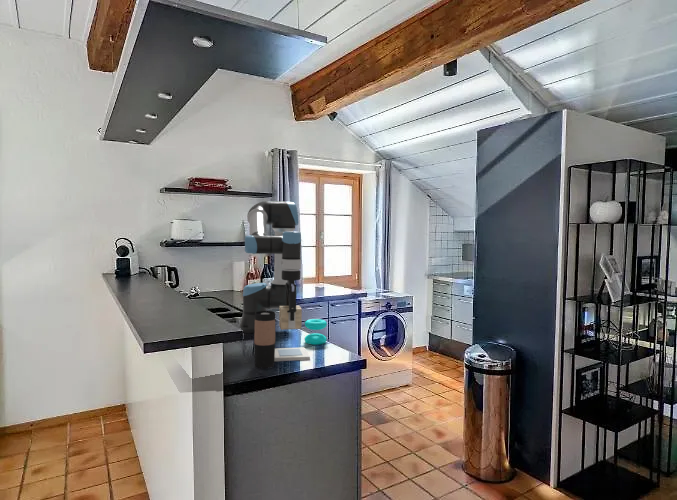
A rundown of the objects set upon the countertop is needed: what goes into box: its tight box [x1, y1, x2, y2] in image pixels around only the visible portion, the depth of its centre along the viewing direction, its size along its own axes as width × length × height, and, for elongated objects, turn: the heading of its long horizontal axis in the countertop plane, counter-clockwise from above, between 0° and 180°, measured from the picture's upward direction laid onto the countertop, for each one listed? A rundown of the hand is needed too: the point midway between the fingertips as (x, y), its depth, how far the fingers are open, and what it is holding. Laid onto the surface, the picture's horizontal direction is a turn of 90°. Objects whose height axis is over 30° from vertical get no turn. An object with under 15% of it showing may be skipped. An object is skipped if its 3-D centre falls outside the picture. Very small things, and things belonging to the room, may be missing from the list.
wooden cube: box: [278, 305, 303, 330], centre depth 178 cm, size 8×8×8 cm
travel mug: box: [253, 310, 276, 370], centre depth 164 cm, size 8×8×20 cm
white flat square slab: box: [274, 346, 311, 362], centre depth 178 cm, size 14×14×1 cm
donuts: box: [304, 318, 328, 346], centre depth 200 cm, size 10×10×10 cm
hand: (290, 326), depth 178 cm, fingers closed on wooden cube, 8 cm apart
